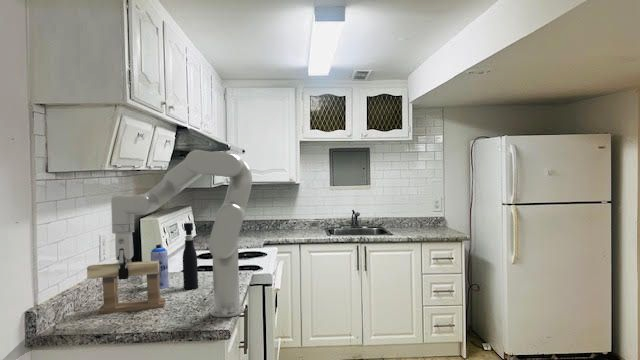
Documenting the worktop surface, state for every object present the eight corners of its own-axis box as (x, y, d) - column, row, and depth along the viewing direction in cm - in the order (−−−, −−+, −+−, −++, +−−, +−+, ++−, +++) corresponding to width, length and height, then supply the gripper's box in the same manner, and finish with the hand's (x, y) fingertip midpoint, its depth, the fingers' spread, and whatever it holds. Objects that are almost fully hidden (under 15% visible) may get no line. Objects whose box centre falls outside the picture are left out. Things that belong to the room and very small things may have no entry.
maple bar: (158, 273, 167) (157, 262, 167) (87, 278, 161) (87, 267, 161) (159, 271, 171) (158, 260, 171) (89, 275, 165) (89, 265, 165)
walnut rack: (163, 307, 179) (162, 269, 179) (98, 314, 173) (96, 275, 173) (165, 301, 187) (163, 265, 187) (102, 308, 181) (100, 271, 181)
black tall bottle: (181, 288, 208) (178, 223, 207) (194, 285, 212) (192, 222, 211) (187, 290, 203) (184, 224, 202) (200, 288, 207) (198, 223, 206)
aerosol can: (160, 289, 206) (158, 246, 205) (147, 288, 210) (145, 245, 209) (172, 285, 213) (171, 243, 212) (160, 284, 217) (159, 242, 216)
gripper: (130, 230, 159) (132, 282, 159) (137, 225, 175) (138, 271, 175) (107, 231, 157) (109, 284, 157) (116, 226, 173) (117, 273, 173)
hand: (124, 277), depth 166 cm, fingers closed on maple bar, 4 cm apart
